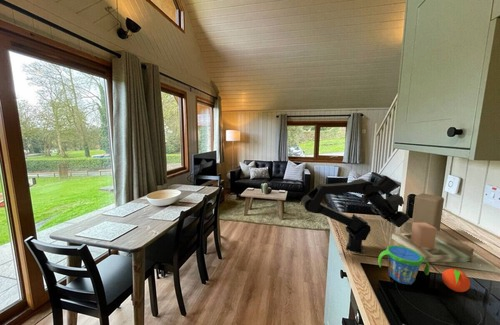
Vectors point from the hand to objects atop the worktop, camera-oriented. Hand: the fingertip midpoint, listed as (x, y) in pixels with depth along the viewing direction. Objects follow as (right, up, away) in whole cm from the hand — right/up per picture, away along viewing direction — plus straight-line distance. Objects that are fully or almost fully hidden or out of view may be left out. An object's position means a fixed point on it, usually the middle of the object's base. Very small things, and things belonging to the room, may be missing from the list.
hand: (399, 225), depth 96 cm
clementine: (+2, -15, -24) cm, 28 cm away
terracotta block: (+11, -9, +1) cm, 14 cm away
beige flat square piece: (+14, -11, +2) cm, 18 cm away
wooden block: (+27, -9, +19) cm, 34 cm away
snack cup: (-13, -14, -18) cm, 27 cm away
